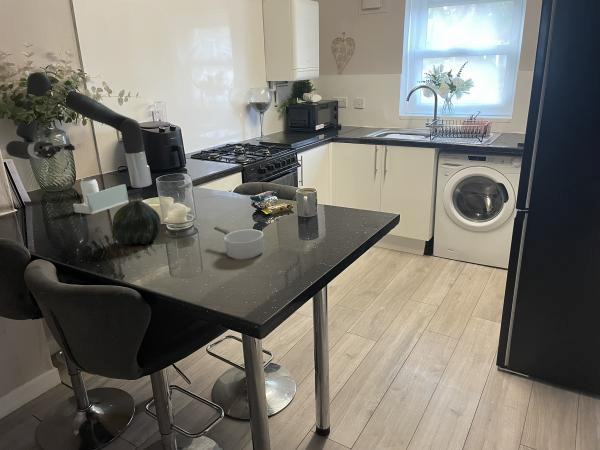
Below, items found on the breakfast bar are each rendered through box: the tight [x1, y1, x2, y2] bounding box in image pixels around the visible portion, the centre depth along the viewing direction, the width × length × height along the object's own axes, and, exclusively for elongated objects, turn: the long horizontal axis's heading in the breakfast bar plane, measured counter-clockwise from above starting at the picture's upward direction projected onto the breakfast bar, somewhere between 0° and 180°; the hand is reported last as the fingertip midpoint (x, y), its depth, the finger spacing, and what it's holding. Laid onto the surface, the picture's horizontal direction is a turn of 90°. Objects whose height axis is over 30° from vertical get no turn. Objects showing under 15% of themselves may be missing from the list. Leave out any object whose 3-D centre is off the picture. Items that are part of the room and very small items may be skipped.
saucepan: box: [213, 226, 265, 260], centre depth 134 cm, size 12×20×6 cm, turn 44°
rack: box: [72, 183, 130, 215], centre depth 195 cm, size 19×11×8 cm, turn 151°
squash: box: [111, 199, 162, 245], centre depth 146 cm, size 14×15×15 cm
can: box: [79, 177, 100, 205], centre depth 191 cm, size 6×6×12 cm
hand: (64, 149), depth 191 cm, fingers open, 8 cm apart
